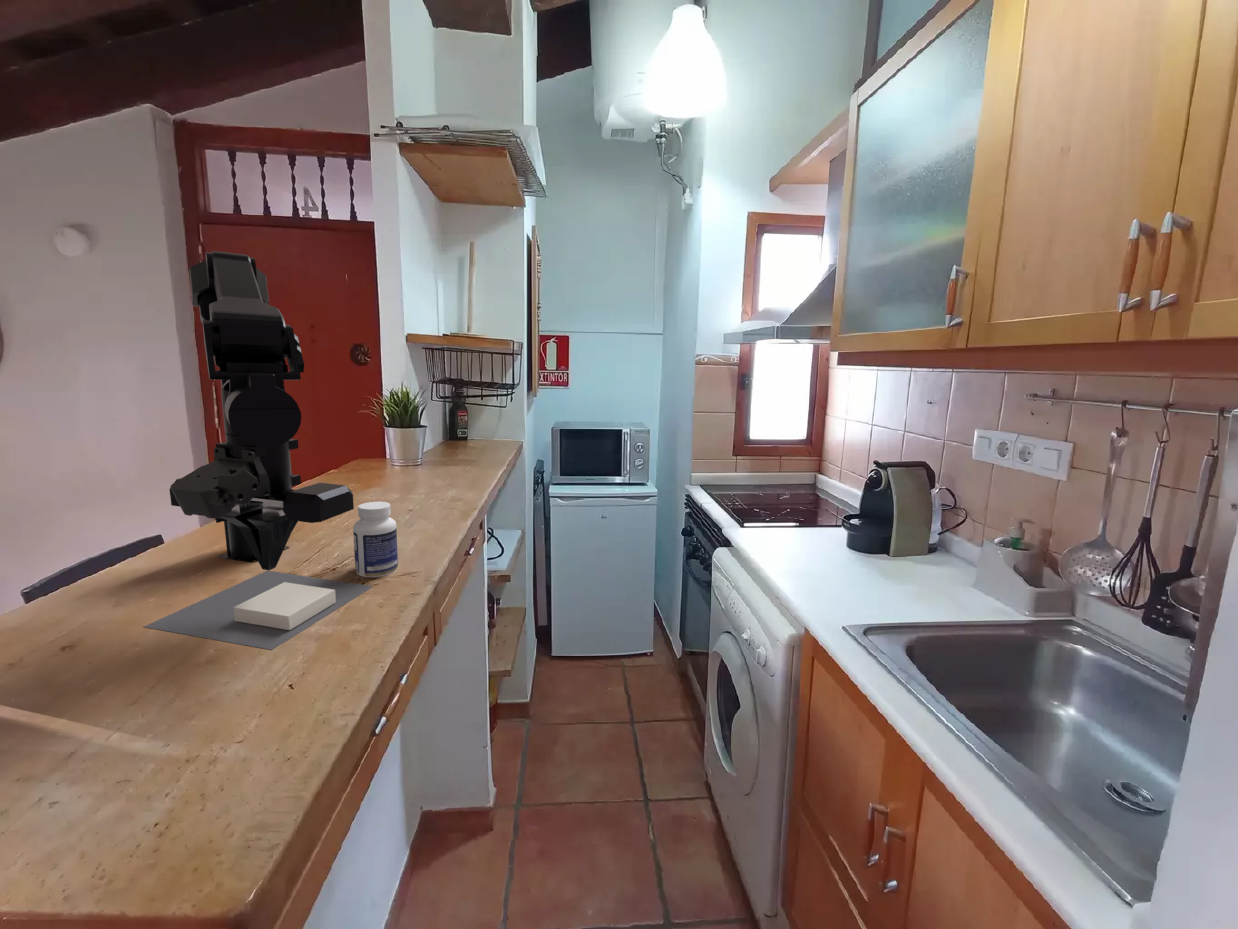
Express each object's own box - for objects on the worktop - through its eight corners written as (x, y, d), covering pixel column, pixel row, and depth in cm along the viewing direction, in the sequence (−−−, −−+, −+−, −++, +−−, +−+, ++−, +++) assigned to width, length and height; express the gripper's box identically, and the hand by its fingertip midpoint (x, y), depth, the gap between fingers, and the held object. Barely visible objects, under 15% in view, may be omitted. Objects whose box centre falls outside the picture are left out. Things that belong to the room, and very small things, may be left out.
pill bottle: (406, 569, 78) (404, 503, 76) (378, 584, 73) (375, 513, 71) (375, 563, 80) (373, 497, 78) (346, 576, 75) (342, 507, 73)
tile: (233, 607, 60) (288, 616, 59) (284, 582, 67) (335, 589, 65) (234, 622, 60) (289, 631, 59) (285, 595, 67) (335, 603, 66)
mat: (143, 631, 59) (143, 626, 59) (267, 574, 74) (267, 570, 74) (272, 655, 56) (271, 649, 55) (373, 590, 71) (373, 586, 71)
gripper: (105, 435, 53) (127, 586, 57) (270, 451, 50) (283, 612, 53) (211, 422, 64) (224, 550, 67) (353, 435, 60) (360, 569, 64)
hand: (269, 569), depth 62 cm, fingers closed
